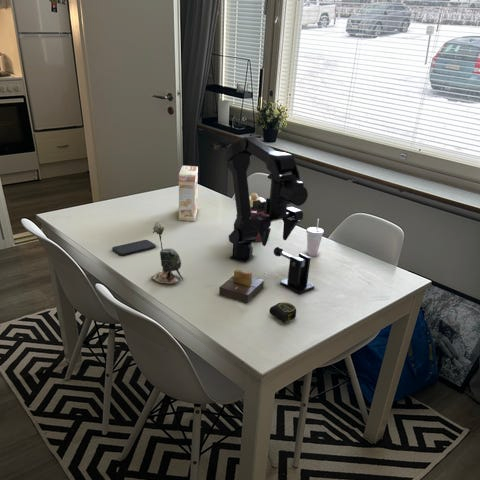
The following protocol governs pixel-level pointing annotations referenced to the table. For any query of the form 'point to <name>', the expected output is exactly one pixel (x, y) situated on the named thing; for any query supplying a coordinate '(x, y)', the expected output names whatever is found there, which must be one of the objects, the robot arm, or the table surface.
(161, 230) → the dried flower vase
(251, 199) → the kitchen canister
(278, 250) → the door handle
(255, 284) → the plate
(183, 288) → the table surface
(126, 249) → the phone
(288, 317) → the tape measure
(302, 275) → the handle bracket
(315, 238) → the smoothie
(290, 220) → the robot arm
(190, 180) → the coffeecake box
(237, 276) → the thumb turn
